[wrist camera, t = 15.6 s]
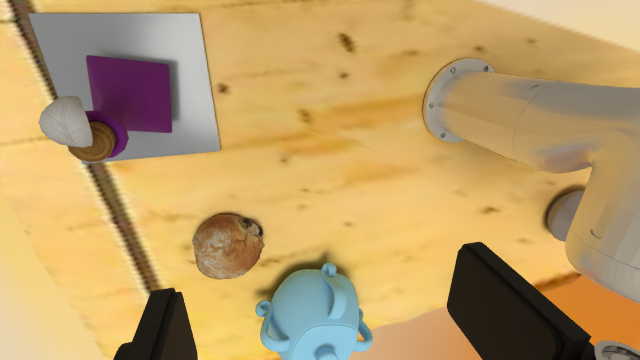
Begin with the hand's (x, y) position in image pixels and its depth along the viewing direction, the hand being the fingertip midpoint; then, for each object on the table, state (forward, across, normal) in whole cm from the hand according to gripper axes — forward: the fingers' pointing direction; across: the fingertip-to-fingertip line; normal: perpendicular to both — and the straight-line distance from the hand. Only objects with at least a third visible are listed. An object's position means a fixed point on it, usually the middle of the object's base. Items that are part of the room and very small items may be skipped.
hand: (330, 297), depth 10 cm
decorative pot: (+35, -4, +34) cm, 49 cm away
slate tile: (+34, +15, -3) cm, 37 cm away
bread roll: (+34, +8, +20) cm, 40 cm away
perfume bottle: (+33, +15, -2) cm, 36 cm away
